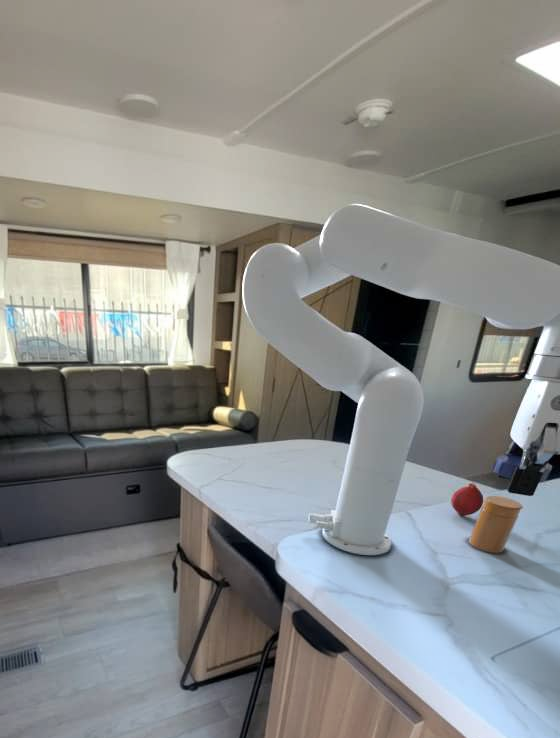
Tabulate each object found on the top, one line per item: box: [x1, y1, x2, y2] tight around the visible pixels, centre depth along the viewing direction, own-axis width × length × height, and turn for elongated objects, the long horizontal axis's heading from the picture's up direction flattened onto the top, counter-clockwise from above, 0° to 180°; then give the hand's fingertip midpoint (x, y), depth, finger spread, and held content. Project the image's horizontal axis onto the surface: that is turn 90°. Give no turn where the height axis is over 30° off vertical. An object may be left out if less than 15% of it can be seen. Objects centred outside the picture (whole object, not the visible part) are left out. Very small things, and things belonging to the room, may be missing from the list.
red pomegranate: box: [450, 482, 484, 517], centre depth 90 cm, size 6×6×8 cm
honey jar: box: [468, 495, 524, 554], centre depth 77 cm, size 6×6×10 cm
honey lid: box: [492, 454, 553, 483], centre depth 64 cm, size 7×7×2 cm
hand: (514, 484), depth 65 cm, fingers closed on honey lid, 6 cm apart
